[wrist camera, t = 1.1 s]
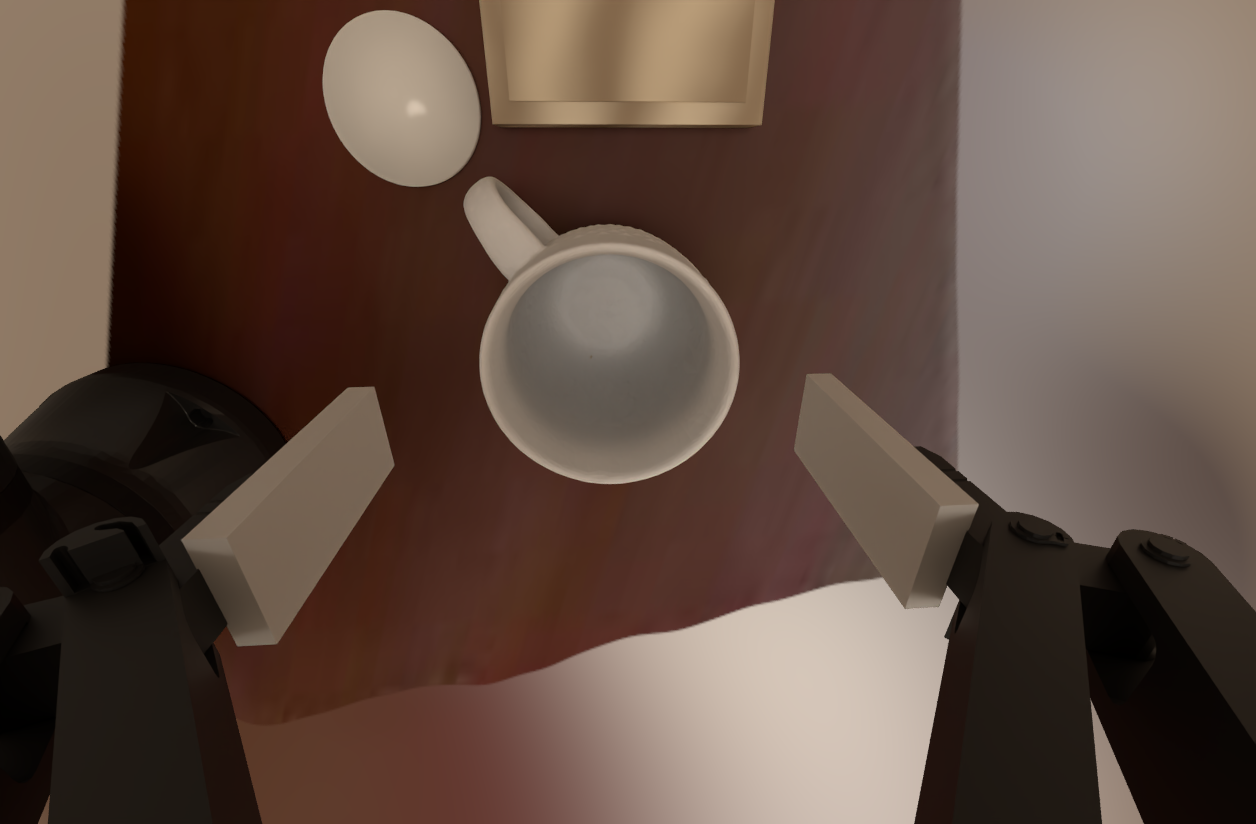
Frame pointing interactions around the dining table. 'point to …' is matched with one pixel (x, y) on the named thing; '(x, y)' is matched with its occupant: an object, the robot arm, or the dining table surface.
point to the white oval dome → (401, 98)
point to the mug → (599, 344)
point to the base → (627, 62)
